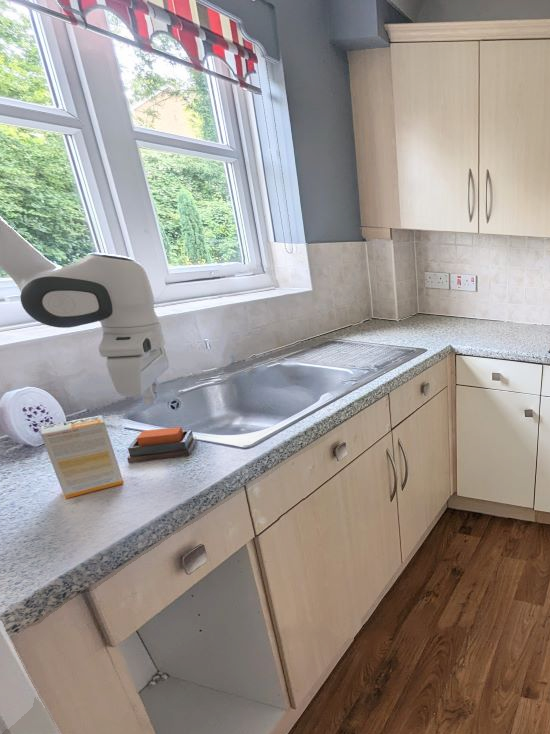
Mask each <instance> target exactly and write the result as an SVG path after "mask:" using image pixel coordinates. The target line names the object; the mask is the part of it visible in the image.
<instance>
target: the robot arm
mask: <svg viewBox="0 0 550 734" xmlns="http://www.w3.org/2000/svg"><path fill="white" fill-rule="evenodd" d="M0 270H2V271H3V272H4V273H5V274H6V275H8V276H9V277H10V278H11V279H12V281H14V282H15V284H16V285H17V287H18V290H19V291H20V303H21V306H22V308H23V310H24V311H25V313H27V315H28V316H29V317H31V319H33V320H35V321H37V322H38V323H40V324H42V325H45V326H49V327H53V328H60V329H61V328H63V329H64V328H65V329H69V328H70V329H71V328H76V327H80V326H84V325H88V324H93V323H96V322H100V325H101V328H102V331H103V332H102V339H101V341H100V344H98V352H99V355H100V357H101V358H106V360H105V364H106V369H107V372H108V375H109V378H110V380H111V383H112V385H113V388H114V390H115V392H116V393H117V394H118V395H119V396H121V397H132V396H133V397H134V396H141V397H142V400H143V403H144V405H146V406H149V405H155V404H156V402H157V401H158V400H159V399H160V397H159V390H158V389H159V382H158V379H159V378H160V377H162V375H164V373H165V372H166V371H167V370H169V367H170V363H169V359H168V356H167V352H166V348H165V346H164V345H165V339H164V334H163V330H162V326H161V322H160V318H159V317H158V316H157V314H156V311H155V297H154V293H153V290H152V289H153V288H152V286H151V282H150V279H149V276H148V275H147V272H146V269H145V267H144V266H143V265H142V264H141V263H140V262H138V261H137V260H135V259H134V258H131V257H129V256H125V255H121V254H116V253H115V254H114V253H107V252H89V253H87V254H86V255H85V256H83V257H82V258H80V259H79V260H77V261H74V262H72V263H70V264H68V265H66V266H62V265H59V264H57V263H55V262H53V261H52V260H51V259H49V258H47V257H46V256H45V255H44V254H42V253H41V251H39V250H38V249H37V248H36V247H35V246H33V244H31V243H30V242H29V241H27V239H26V238H25V237H23V236H22V235H21V234H20V233H19V232H18V231H16V230H15V229H14V228H13V226H11V225H9V223H8V222H6V221H5V220H4V219H3V218H2V217H1V216H0Z"/></svg>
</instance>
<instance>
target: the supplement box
mask: <svg viewBox="0 0 550 734" xmlns="http://www.w3.org/2000/svg"><path fill="white" fill-rule="evenodd" d="M108 431H109V430H108V428H107V425H106V422H105V420H104V418H103V415H102V414H99V415H94V416H90V417H83V418H78V419H73V420H67V421H61V422H56V423H50V424H45V425H41V426H40V436H41V439H42V441H43V443H44V446H45V449H46V452H47V455H48V456H49V460H50V462H51V465H52V467H53V470H54V472H55V476H56V478H57V481H58V484H59V486H60V489H61V491H62V493H63V495H64V498H65V499H69V498H70V499H71V498H73V497H77V496H81V495H85V494H88V493H93V492H97V491H100V490H104V489H109V488H111V487H116V486H119V485H123V484H124V480H123V476H122V473H121V470H120V466H119V463H118V459H117V457H116V454H115V451H114V448H113V444H112V441H111V438H110V434H109V432H108Z"/></svg>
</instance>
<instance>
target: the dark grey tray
mask: <svg viewBox="0 0 550 734" xmlns="http://www.w3.org/2000/svg"><path fill="white" fill-rule="evenodd" d="M182 431H183V435H184V439H183V440H182V441H179V442H170V443H162V444H153V445H144V446H139V445H138V442H137V437H136V438H135V439H134V440H133V441H132V442H131V444H130V445H129V446H128V447H127V450H128V456H127V463H128V464H133V463H141V462H148V461H159V460H164V459H165V460H166V459H173V458H181V457H189V456H191V453H192V452H193V450H194V448H195V446H196V444H197V442H198V441H197V440H198V439H197V437H196V436H194V434H193V430H192V429H187V430H182Z"/></svg>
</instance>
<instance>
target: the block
mask: <svg viewBox="0 0 550 734" xmlns="http://www.w3.org/2000/svg"><path fill="white" fill-rule="evenodd" d="M183 431H184V430H183V427H182V426H177V427H176V426H175V427H168V428H158V429H157V428H155V429H148V430H147V429H146V430H142V431H141V432H140V433H139V435H137V437H136V438H137V442H138V445H139V446H144V445H153V444H162V443H170V442H179V441H182V440H183V439H184V435H183Z"/></svg>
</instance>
